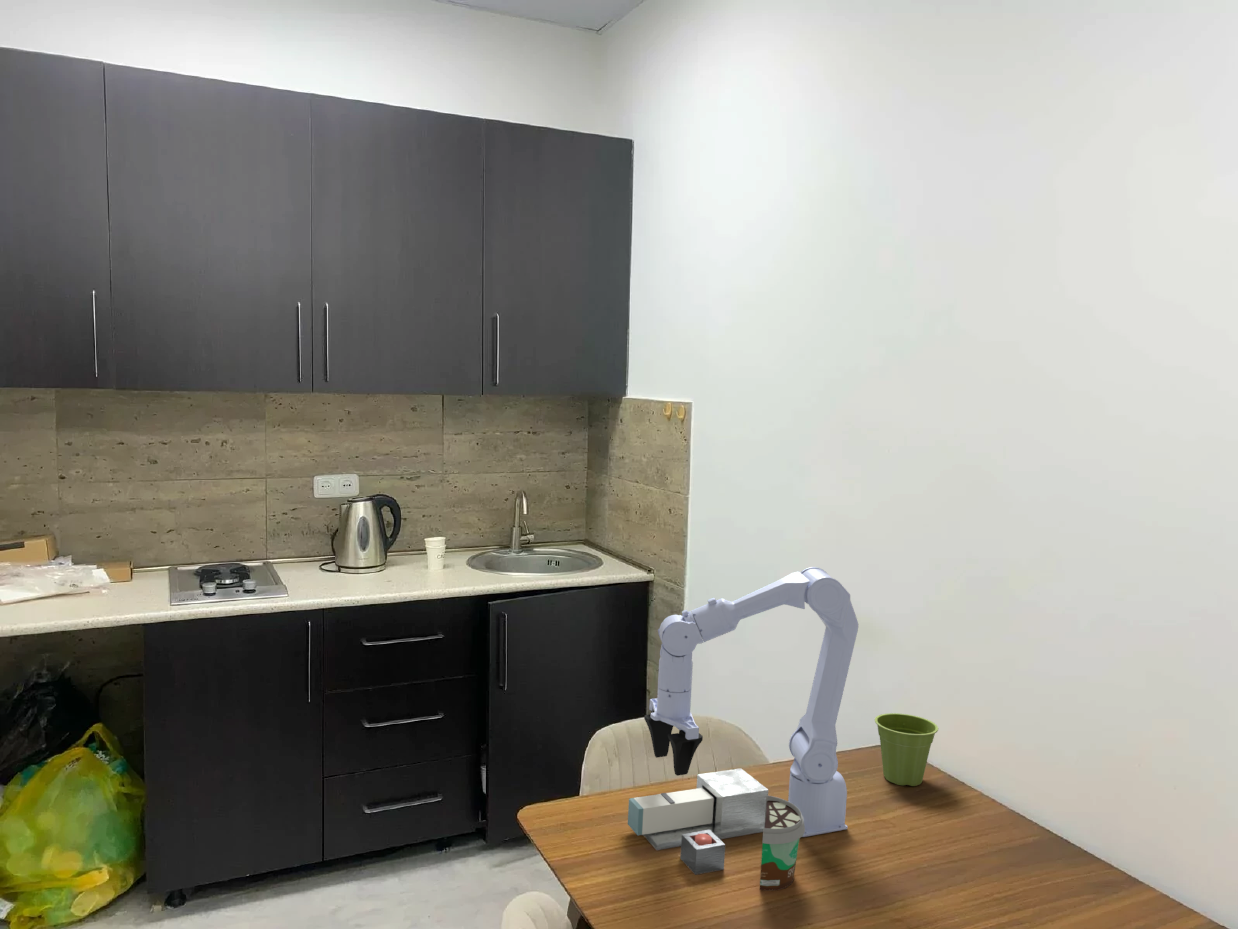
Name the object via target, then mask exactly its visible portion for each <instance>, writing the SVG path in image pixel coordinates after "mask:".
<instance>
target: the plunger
mask: <svg viewBox="0 0 1238 929" xmlns="http://www.w3.org/2000/svg"><path fill="white" fill-rule="evenodd" d="M695 842H696V843H697V844H698V845H699V846H702V845H707V844H712V837H711V836H710V835H707V834H697V835H696V836H695Z"/></svg>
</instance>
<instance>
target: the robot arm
mask: <svg viewBox="0 0 1238 929" xmlns="http://www.w3.org/2000/svg"><path fill="white" fill-rule="evenodd" d="M707 602H708V603H706V604H703V605H701V606H699V607H696V608H694V609H691V610H689V611H688V609H684V610H682V611H681V614H682V615H681V614H679V615H678V614H672V615H668V616H667V617H665V618H664V619H663V621H662V622H661V623H660V625H659V628H658V629H657V633H658V636H659V639H660V641H661V644H660V650H659V656H660V657H659V660H658V672H657V673H658V675H657V697H656V698H650V699H649V711H651V713H650V714H645V715H644V717H643V718H644V719H643V720H644V722H645V723H646V725H647V728H648V731H649V733H650V734H649V735H650V739H651V742H652V748H653V753H654V757H655V758H664V757H667V756H668V754H669V751H670V750H669V748H670V746H671V750H672V757H673V759H672V760H673V761H672V762H673V771H674V772H673V773H674V774H675V776H684V775H685V776H686V775H688V773H689V770H690V766H691V764H692V761H693V758H694V755H695V753H696V751H697V749H698V747H699V746H700V744H701V743H702V742H703V738H704V737H703V735H702V733H700V726H698V725H697V724H696V722H695V720H694V717H693V714H692V712H691V705H692V688H693V687H692V686H693V684H692V682H693V666H694V665H693V664H694V662H693V652H694V651H695V649H696V647H697V645H699V644H701V645H702V644H704V643H707V642H708V641H711V640H714V639H717V638H718V637H721V636H723V635H726V634H729V633H731V632H733V631H735V630H736V628H737V627H738V625H739V622H740V621H741V620H743V619H746V618H749V617H752V616H755V615H757V614H761V613H764V612H766V611H769V610H772V609H775V608H778V607H781V606H783V605H786V606H790V607H794V608H797V609H801V610H805V609H806V607H805V604H807V605H808V606H809V607H810V608H811V610H812V611H814V613H816V615H817V616H818V617H819V619H820V620H821V622H822V623H823V624H824V626H825V629H824V634H823V638H822V642H821V647H820V651H819V654H818V655H819V656H818V660H817V663H816V668H815V672H814V677H813V682H812V686H811V688H810V689H811V690H810V694H809V699H808V703H807V707H806V711H805V713H804V714H803V715H802V716H801V717H800V719H799V722H798V726H797V727H796V729H795V731H793V732H792V734H791V736H790V738H789V741H788V748H789V749H788V750H789V752H790V754H791V756H793V757H794V759H793V762H792V765H790V769H789V785H788V798H787V799H788V800H787V801H788V802H790V803H792V804H794V805H795V806H796V807H797V808H798V809H799V810H800V811H801V813H802V816H803V820H804V826H805V832H804V834H803V836H802V837H801V838H806V837H811V836H816V835H823V834H828V833H832V832H833V833H834V832H838V831H843V830H847V829H848V825H847V824H846V823H845V821H846V811H847V798H848V788H847V785H846V780H845V779H844V777H843V775H842V774H841V773H840V772H839V771H837V770H838V767H839V762H838V756H837V748H838V747H837V746H838V735H837V730H836V727H837V726H836V723H837V721H838V715H839V711H840V708H841V707H840V706H841V702H842V699H843V694H844V692H845V690H844V689H845V685H846V681H847V677H848V674H849V670H850V669H849V668H850V665H851V661H852V657H853V652H854V648H855V644H856V639H857V634H858V631H859V621H858V618H857V616H856V613H855V610H854V606H853V604H852V600H851V594H850V593H849V591H848V590H847V589H846V588H845V587H844V585H843V584H842V583H841V582H840V581H839V580H837V579H836V578H833V577H832V576H831V575H830V574H829V573H827V571H825V570H824V569H822V568H820V567H817V566H810V567H807V568H804V569H803V570H802V571H795V572H791V573H789V574H788V575H785V576H784V577H782V578H780V579H778V580H776V581H773V582H771V583H769V584H767V585H765V586H763V587H761V588H759V589H756V590H754V591H752V592H750V593H748V594H745V595H743V596H741V597H739V598H737V599H735V600H732V601H731V600H728V599H725V598H724V597H723V598H722V597H721V598H718V599H716V598H715V597H712V598H708V599H707ZM674 727H675V728H676V729H678V732H677V733H672V731H673V728H674Z"/></svg>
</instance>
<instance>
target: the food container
mask: <svg viewBox="0 0 1238 929" xmlns="http://www.w3.org/2000/svg"><path fill="white" fill-rule="evenodd" d="M804 832H805V826H804V820H803V816H802V813H801V811H800V810H799V809H798V808H797V807H796V806H795V805H794V804H792V803H790V802H788V800H786V799H783V798H781V797H778V796H772V795H769V794H768V795H766V809H765V824H764V828H763V832H762V843H761V844H762V846H761V860H760V874H759V875H760V879H759V891H779V890H780V891H781V890H782V889H786V888H788V887H789V886H791V885H792V884H793V882H794V878H795V872H796V871H795V870H796V866H797V865H796V864H797V857H798V852H799V843H800V839H801V838H803V837H802V836H803V834H804Z"/></svg>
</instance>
